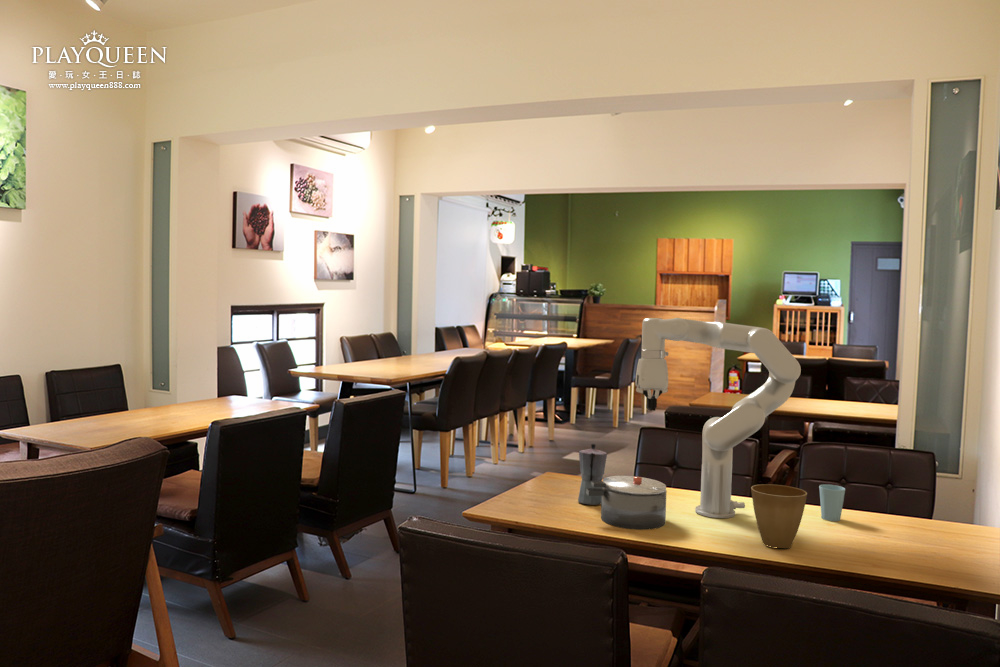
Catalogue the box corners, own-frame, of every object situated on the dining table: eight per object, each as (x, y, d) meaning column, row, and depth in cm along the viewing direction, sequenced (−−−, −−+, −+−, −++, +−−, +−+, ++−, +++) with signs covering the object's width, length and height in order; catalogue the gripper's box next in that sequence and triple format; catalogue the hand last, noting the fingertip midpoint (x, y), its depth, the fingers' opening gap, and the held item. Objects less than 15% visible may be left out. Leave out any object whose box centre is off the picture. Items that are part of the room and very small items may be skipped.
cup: (830, 523, 231) (831, 490, 231) (812, 516, 238) (813, 485, 238) (849, 521, 233) (850, 489, 233) (831, 515, 241) (832, 483, 240)
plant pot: (816, 549, 205) (818, 493, 204) (780, 557, 197) (782, 498, 197) (772, 534, 218) (775, 481, 217) (737, 541, 210) (740, 486, 210)
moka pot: (604, 497, 255) (606, 441, 254) (606, 510, 239) (608, 449, 238) (577, 496, 255) (579, 440, 255) (577, 508, 240) (579, 448, 239)
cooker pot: (652, 510, 240) (653, 480, 240) (675, 529, 220) (676, 496, 220) (578, 511, 236) (579, 481, 236) (595, 530, 217) (596, 497, 216)
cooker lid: (653, 480, 239) (653, 471, 239) (675, 495, 220) (676, 485, 220) (584, 478, 236) (585, 469, 236) (601, 494, 217) (601, 483, 217)
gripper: (669, 354, 247) (668, 408, 247) (627, 354, 244) (626, 408, 245) (678, 356, 239) (677, 411, 240) (635, 355, 237) (633, 411, 237)
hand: (651, 409), depth 242 cm, fingers closed
